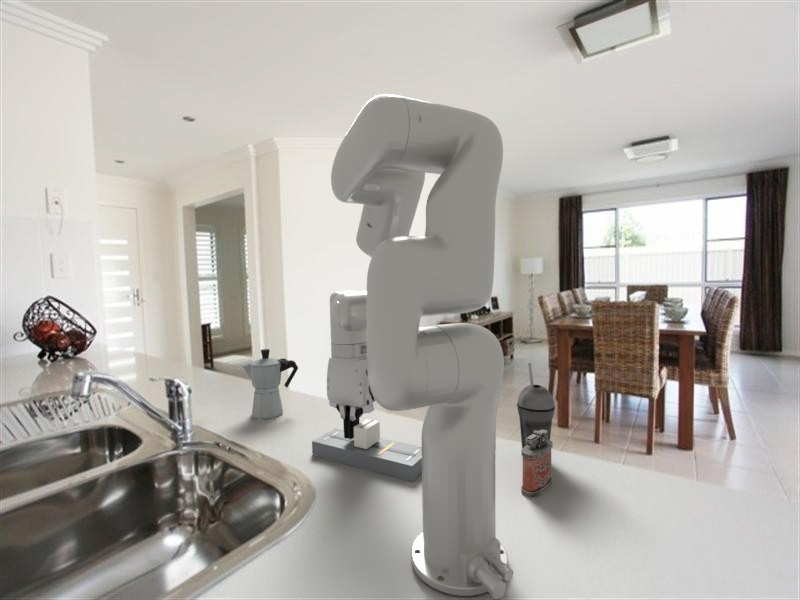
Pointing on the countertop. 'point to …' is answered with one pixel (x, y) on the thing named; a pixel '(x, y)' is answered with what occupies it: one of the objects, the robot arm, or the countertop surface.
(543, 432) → the lighter
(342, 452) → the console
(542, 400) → the beverage cup
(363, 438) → the fader knob
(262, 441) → the countertop surface
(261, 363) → the coffee maker
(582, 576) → the countertop surface
